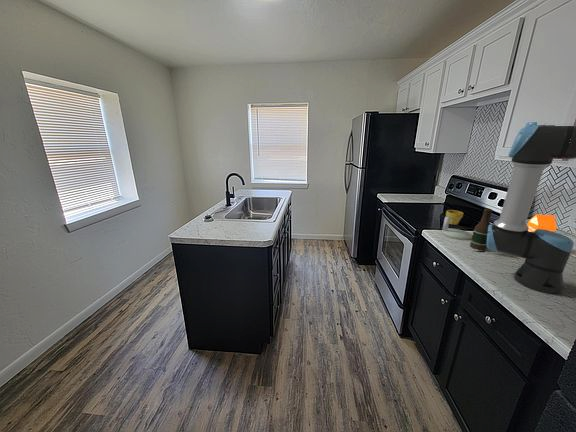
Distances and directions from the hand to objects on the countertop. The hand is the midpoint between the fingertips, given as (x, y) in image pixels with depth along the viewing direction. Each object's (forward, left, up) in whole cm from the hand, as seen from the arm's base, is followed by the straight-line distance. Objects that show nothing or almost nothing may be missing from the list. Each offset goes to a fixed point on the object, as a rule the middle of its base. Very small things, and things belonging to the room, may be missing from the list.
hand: (514, 196), depth 138 cm
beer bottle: (-21, +1, -30) cm, 36 cm away
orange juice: (+13, -11, -30) cm, 34 cm away
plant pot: (+9, +34, -30) cm, 46 cm away
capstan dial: (-13, +18, -28) cm, 36 cm away
